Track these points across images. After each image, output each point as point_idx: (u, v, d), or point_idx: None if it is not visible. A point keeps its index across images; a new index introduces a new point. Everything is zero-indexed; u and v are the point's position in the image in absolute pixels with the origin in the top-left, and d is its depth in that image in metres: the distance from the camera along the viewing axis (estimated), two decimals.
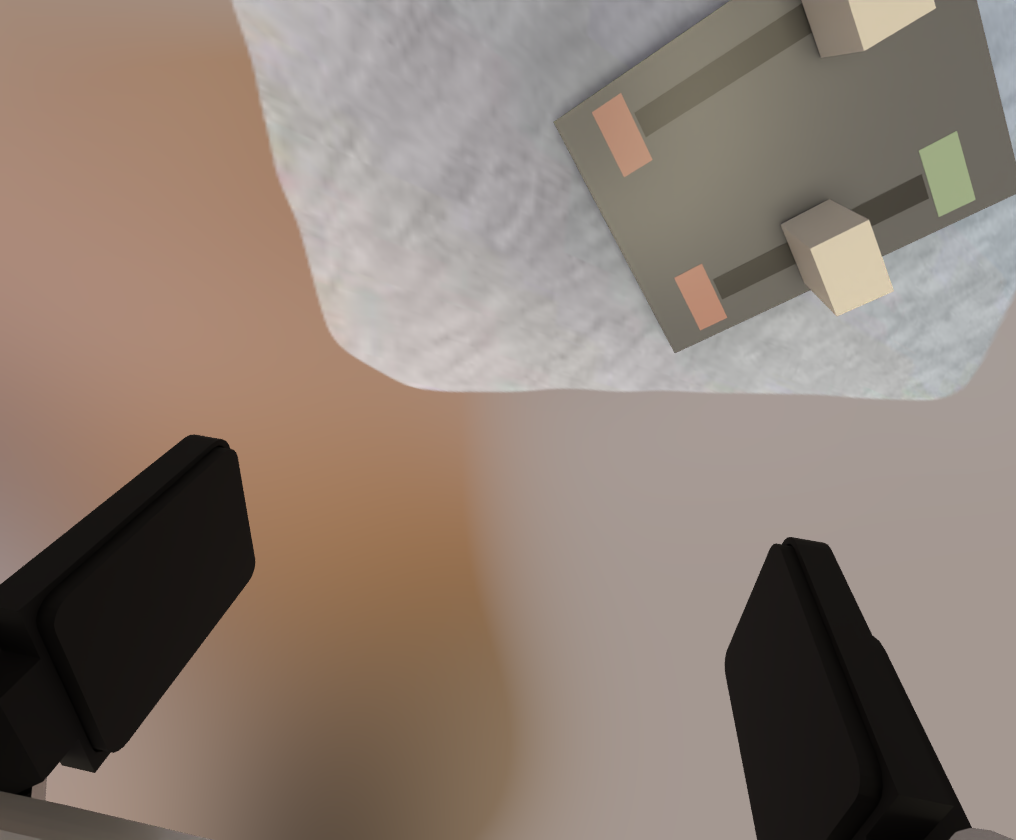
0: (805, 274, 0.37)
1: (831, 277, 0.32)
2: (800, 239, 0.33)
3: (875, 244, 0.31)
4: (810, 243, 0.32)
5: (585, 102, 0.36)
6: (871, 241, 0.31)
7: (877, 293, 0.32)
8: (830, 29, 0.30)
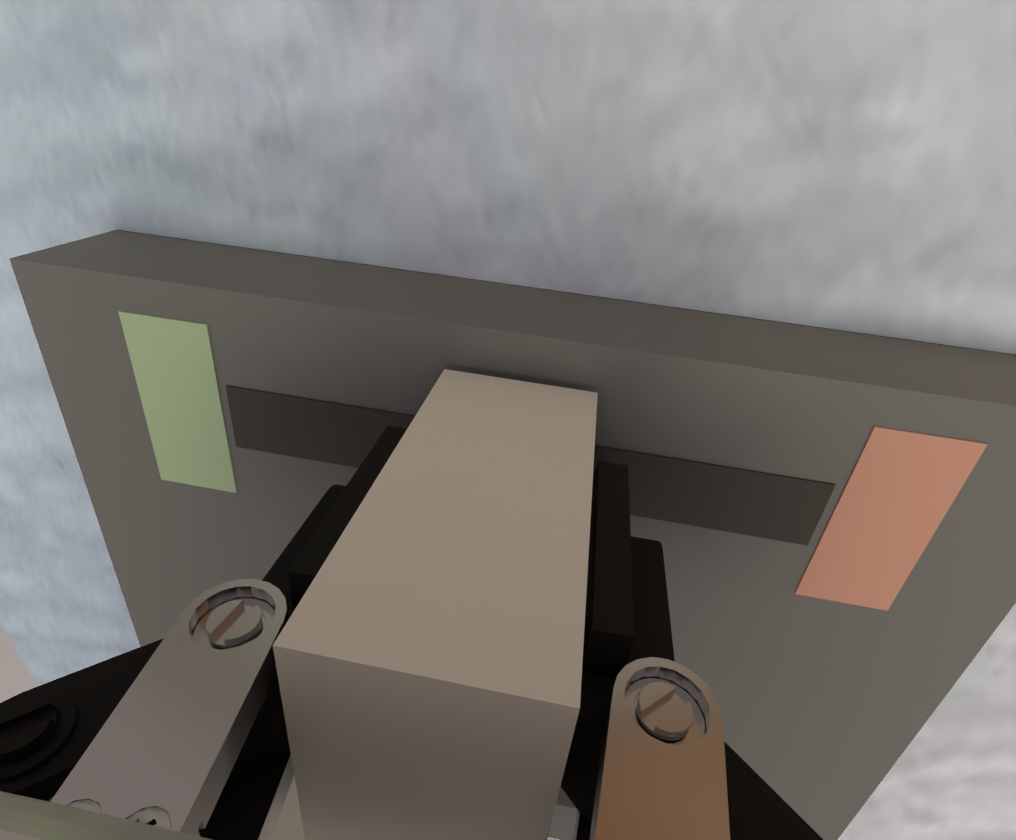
0: None
1: (508, 825, 0.07)
2: None
3: (306, 810, 0.07)
4: None
5: None
6: (318, 821, 0.07)
7: (349, 679, 0.06)
8: None
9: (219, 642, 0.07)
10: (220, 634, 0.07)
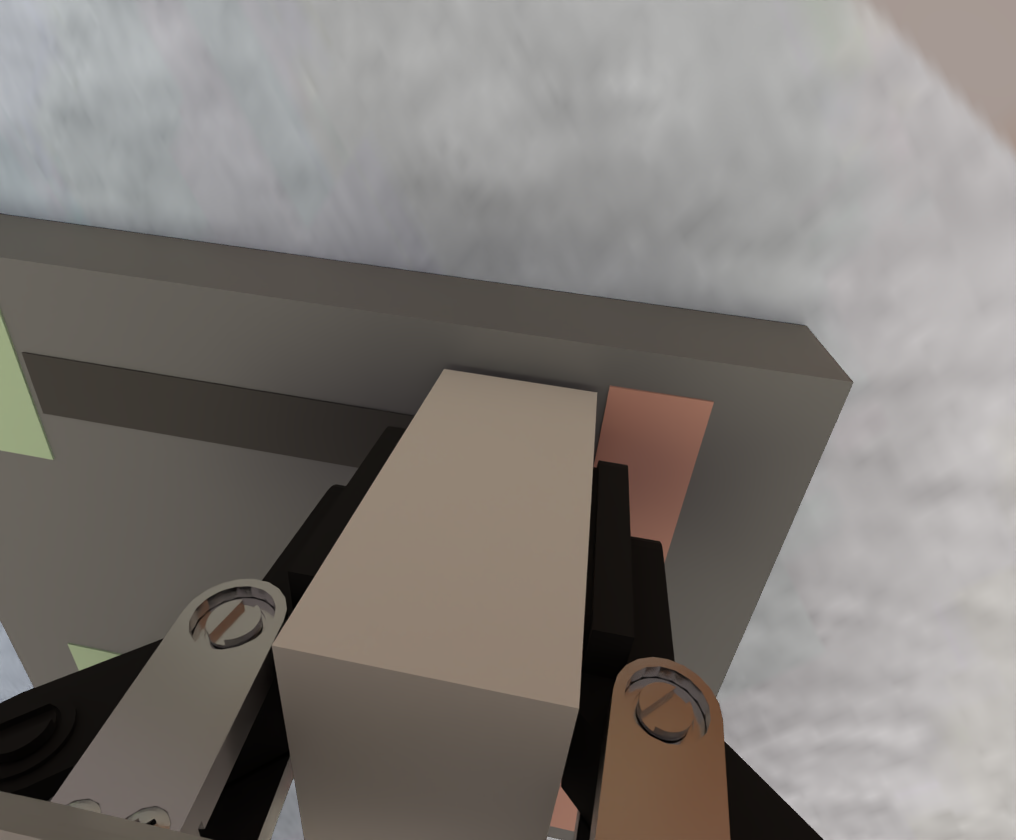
0: None
1: (507, 826, 0.07)
2: None
3: (306, 810, 0.07)
4: None
5: None
6: (317, 821, 0.07)
7: (348, 679, 0.06)
8: None
9: (219, 642, 0.07)
10: (220, 634, 0.07)
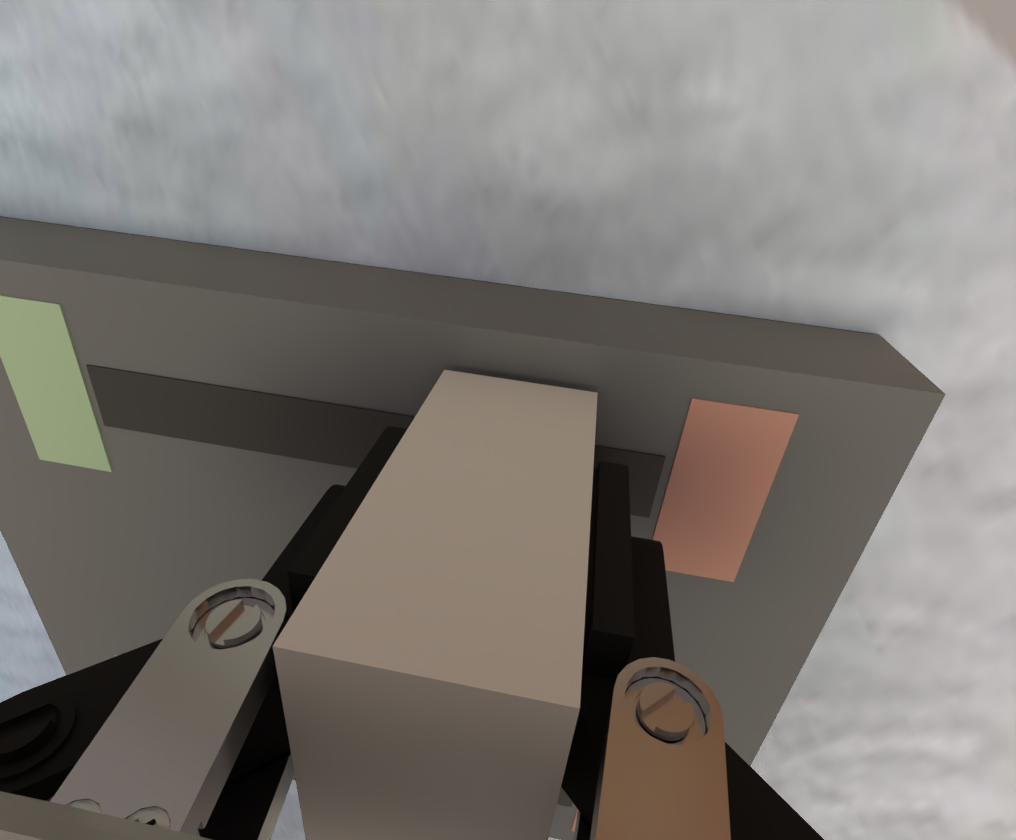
0: None
1: (509, 826, 0.07)
2: None
3: (307, 811, 0.07)
4: None
5: None
6: (319, 821, 0.07)
7: (349, 679, 0.06)
8: None
9: (219, 642, 0.07)
10: (220, 634, 0.07)
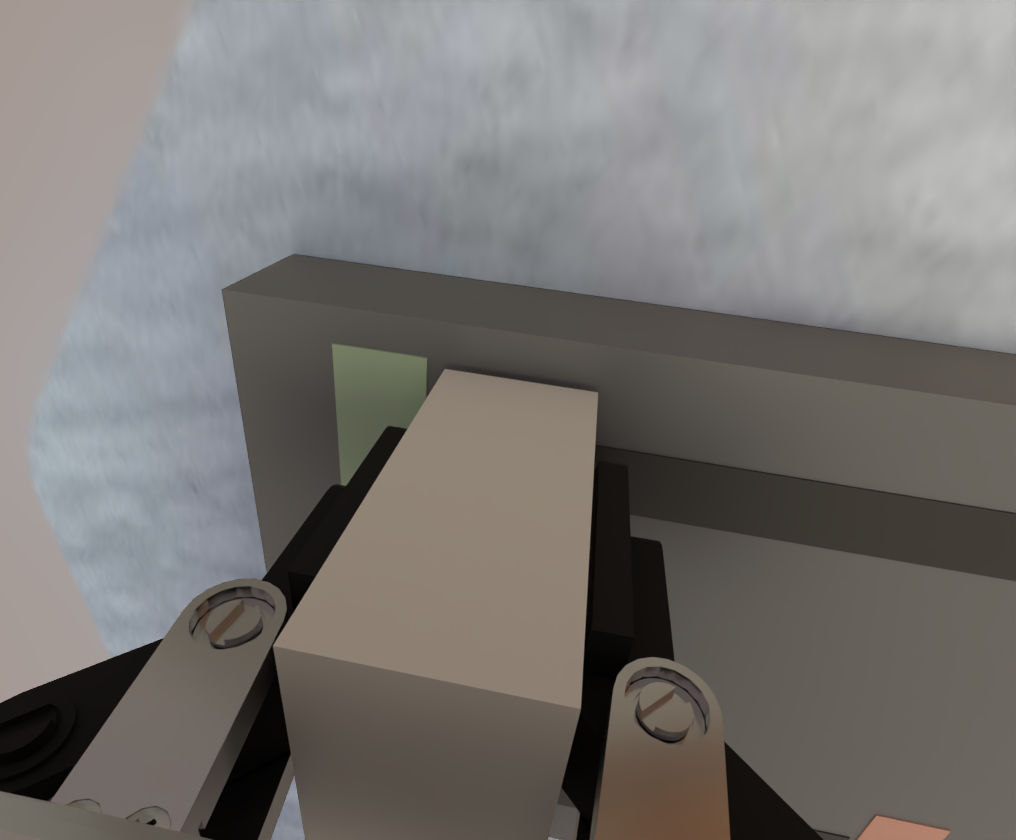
0: None
1: (509, 826, 0.07)
2: None
3: (307, 810, 0.07)
4: None
5: None
6: (318, 821, 0.07)
7: (349, 679, 0.06)
8: None
9: (219, 642, 0.07)
10: (220, 634, 0.07)
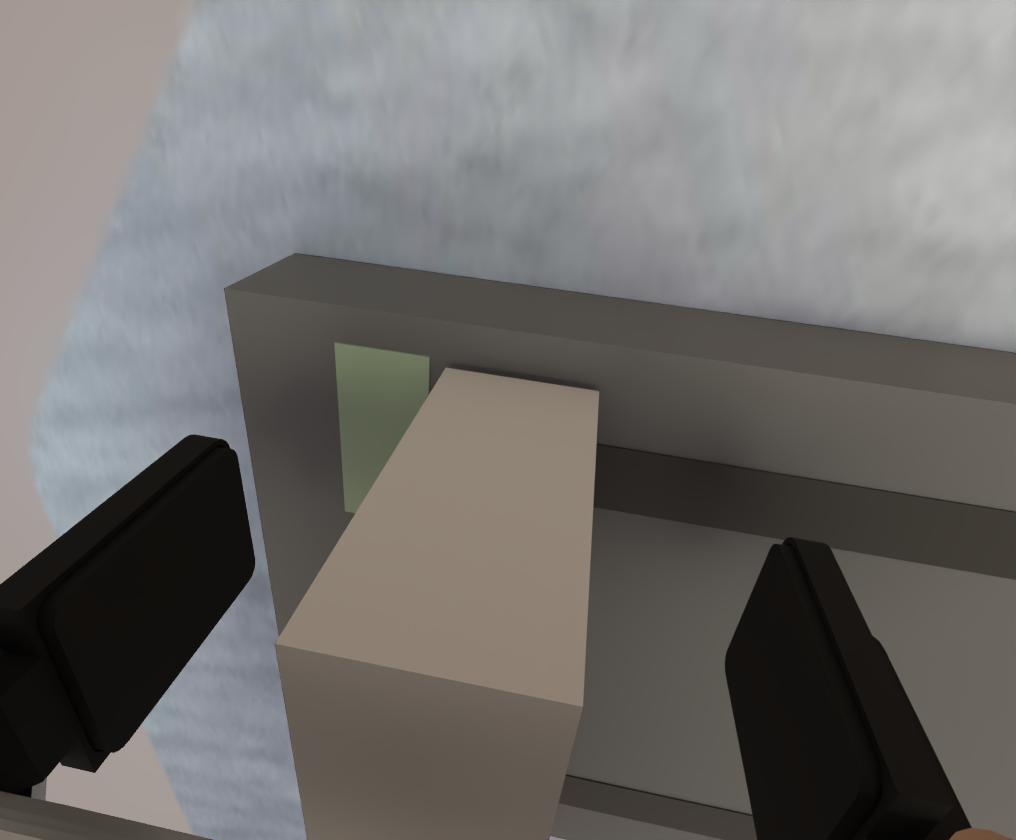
0: None
1: (510, 824, 0.07)
2: None
3: (308, 808, 0.07)
4: None
5: None
6: (320, 819, 0.07)
7: (351, 677, 0.06)
8: None
9: None
10: None
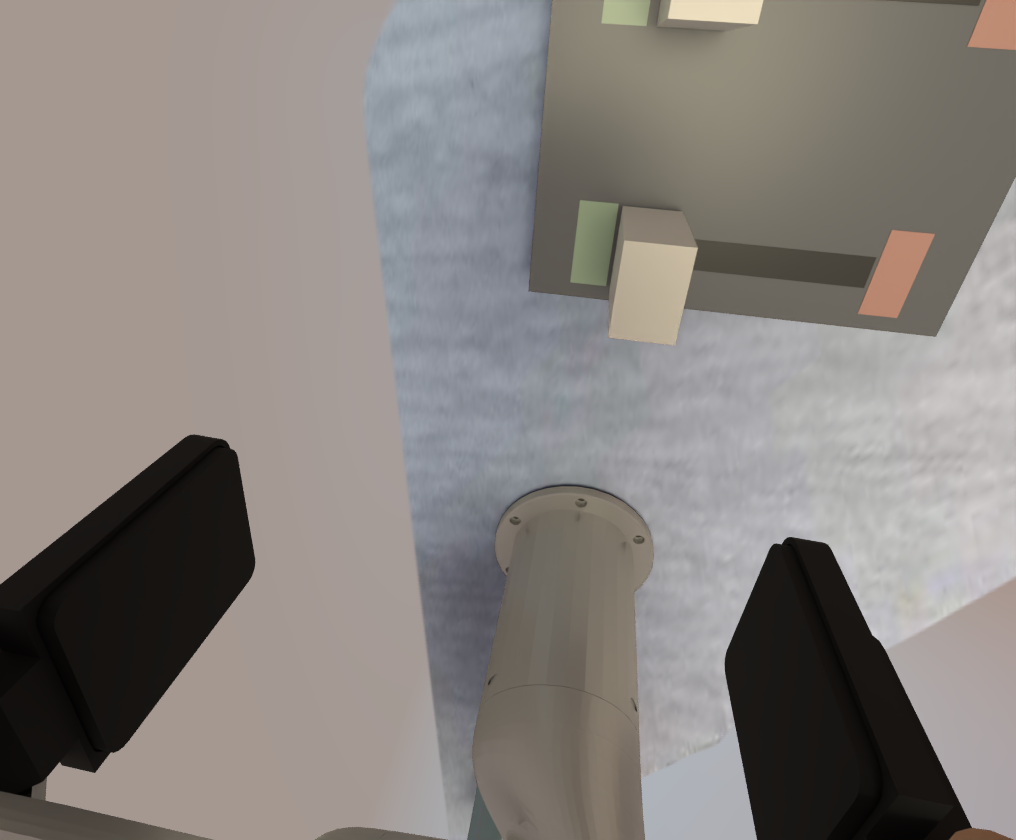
0: None
1: None
2: (744, 26, 0.21)
3: None
4: (746, 24, 0.20)
5: (892, 329, 0.31)
6: None
7: None
8: None
9: None
10: None
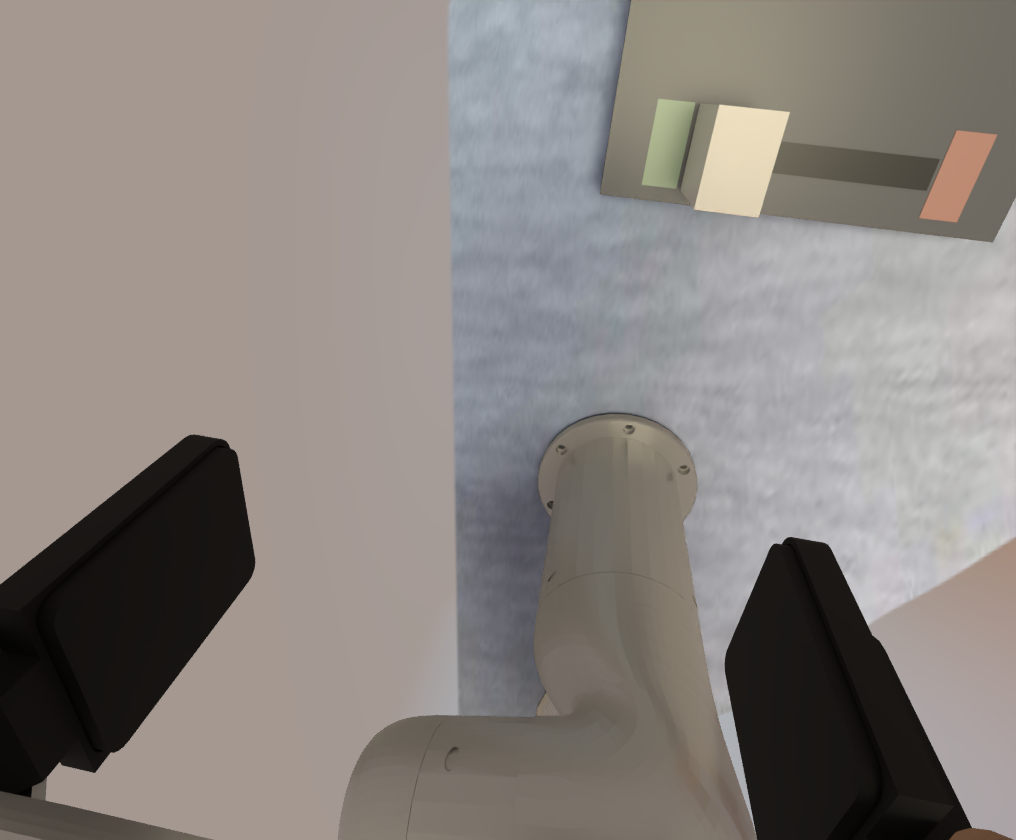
0: None
1: None
2: None
3: None
4: None
5: (951, 235, 0.32)
6: None
7: None
8: None
9: None
10: None
